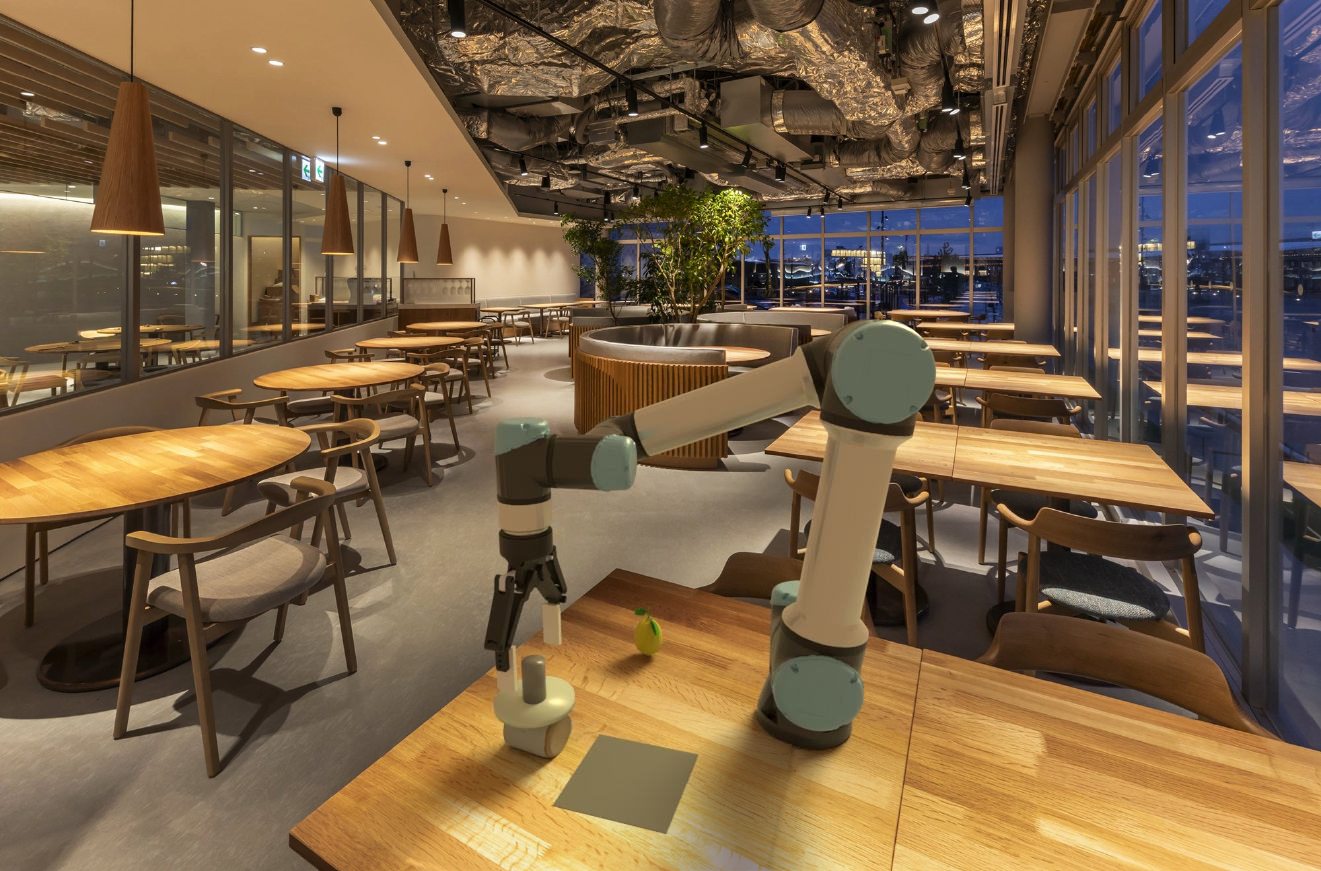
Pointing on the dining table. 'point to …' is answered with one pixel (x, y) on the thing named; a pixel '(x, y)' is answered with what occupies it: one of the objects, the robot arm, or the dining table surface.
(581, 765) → the mat
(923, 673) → the dining table surface
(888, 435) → the robot arm
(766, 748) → the dining table surface
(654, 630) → the lemon
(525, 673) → the lid
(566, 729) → the ceramic mug
